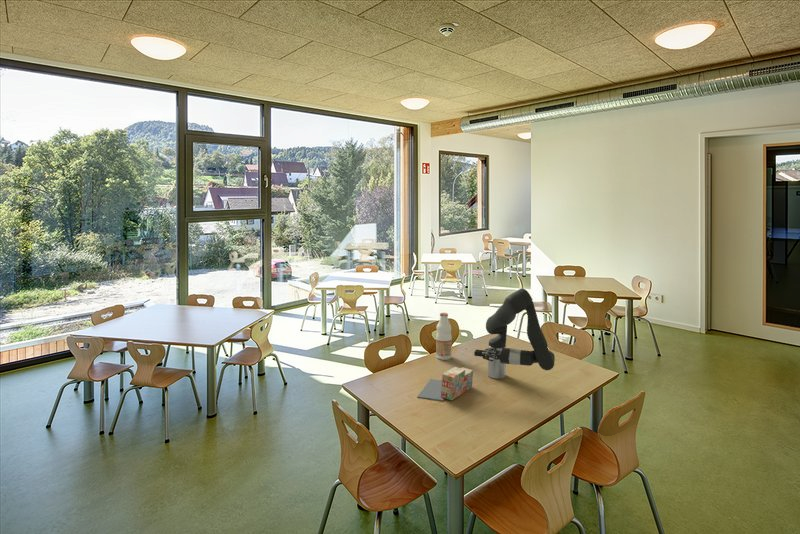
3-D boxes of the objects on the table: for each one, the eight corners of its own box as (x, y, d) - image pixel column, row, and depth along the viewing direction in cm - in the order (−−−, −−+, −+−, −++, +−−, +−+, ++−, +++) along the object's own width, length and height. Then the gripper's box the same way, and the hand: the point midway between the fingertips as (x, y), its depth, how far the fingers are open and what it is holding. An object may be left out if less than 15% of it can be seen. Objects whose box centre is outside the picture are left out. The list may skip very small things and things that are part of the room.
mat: (454, 382, 246) (454, 381, 245) (443, 401, 223) (443, 400, 223) (430, 379, 250) (430, 378, 250) (417, 397, 227) (417, 396, 227)
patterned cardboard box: (461, 383, 243) (463, 361, 241) (472, 387, 240) (473, 364, 238) (440, 397, 226) (442, 373, 224) (451, 401, 223) (453, 377, 221)
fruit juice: (433, 358, 283) (434, 314, 279) (439, 354, 291) (439, 311, 287) (448, 361, 279) (448, 316, 275) (453, 356, 287) (453, 312, 283)
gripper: (512, 344, 227) (477, 341, 233) (509, 353, 214) (472, 349, 220) (512, 359, 228) (477, 355, 234) (509, 368, 215) (472, 364, 221)
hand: (475, 352), depth 227 cm, fingers closed
